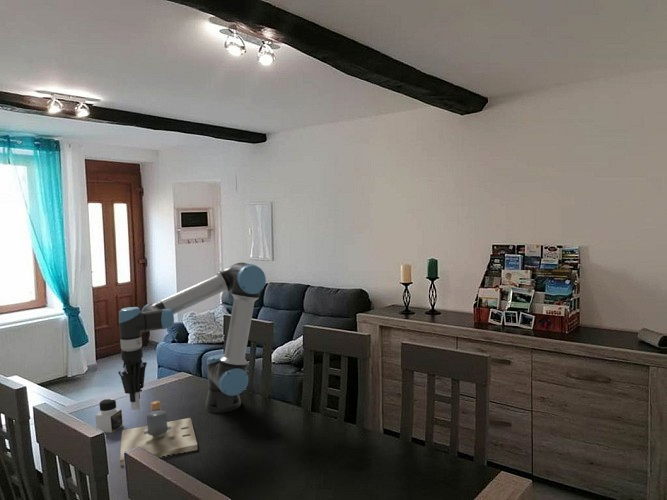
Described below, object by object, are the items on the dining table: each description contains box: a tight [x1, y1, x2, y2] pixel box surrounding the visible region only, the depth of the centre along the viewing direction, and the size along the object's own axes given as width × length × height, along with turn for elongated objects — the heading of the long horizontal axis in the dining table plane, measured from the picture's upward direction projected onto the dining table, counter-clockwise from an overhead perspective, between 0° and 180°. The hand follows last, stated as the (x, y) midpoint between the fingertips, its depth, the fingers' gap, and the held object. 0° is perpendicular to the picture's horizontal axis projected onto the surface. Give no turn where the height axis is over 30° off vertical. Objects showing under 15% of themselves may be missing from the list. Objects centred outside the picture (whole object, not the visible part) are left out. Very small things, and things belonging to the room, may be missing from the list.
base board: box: [119, 417, 198, 467], centre depth 190 cm, size 26×26×4 cm
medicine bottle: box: [95, 398, 124, 434], centre depth 204 cm, size 7×7×12 cm
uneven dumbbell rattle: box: [144, 400, 171, 435], centre depth 194 cm, size 10×16×7 cm, turn 21°
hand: (135, 409), depth 192 cm, fingers closed
